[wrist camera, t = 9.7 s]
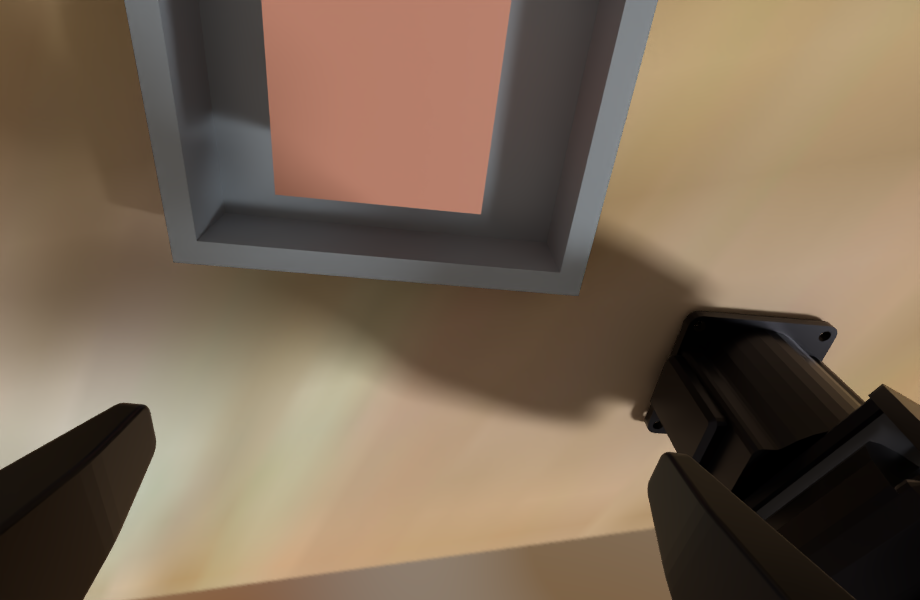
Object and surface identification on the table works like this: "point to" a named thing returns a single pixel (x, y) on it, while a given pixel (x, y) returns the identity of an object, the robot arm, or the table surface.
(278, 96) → the red block
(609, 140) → the tray
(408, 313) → the table surface
